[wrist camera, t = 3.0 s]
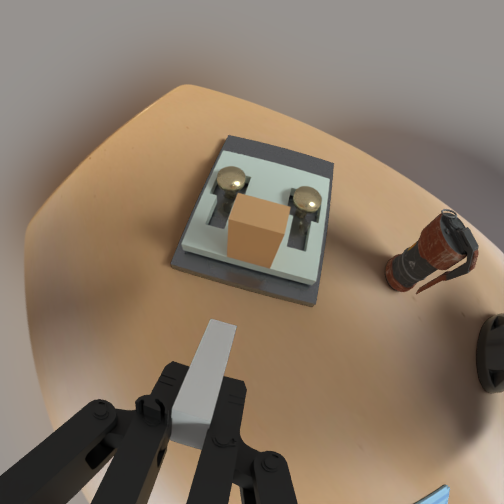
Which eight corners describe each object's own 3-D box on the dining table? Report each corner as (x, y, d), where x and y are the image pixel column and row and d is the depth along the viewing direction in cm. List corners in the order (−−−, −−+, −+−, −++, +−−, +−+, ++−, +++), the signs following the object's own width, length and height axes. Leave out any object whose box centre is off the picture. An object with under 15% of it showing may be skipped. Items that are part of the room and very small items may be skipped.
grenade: (397, 311, 34) (472, 272, 20) (374, 264, 36) (437, 207, 23) (422, 295, 35) (491, 254, 21) (400, 252, 38) (460, 198, 24)
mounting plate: (331, 169, 43) (341, 147, 38) (311, 307, 33) (326, 295, 28) (228, 141, 44) (229, 117, 39) (172, 268, 33) (164, 250, 28)
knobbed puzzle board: (326, 185, 39) (349, 139, 30) (312, 285, 32) (343, 251, 23) (223, 157, 39) (224, 106, 30) (183, 250, 32) (170, 204, 24)
